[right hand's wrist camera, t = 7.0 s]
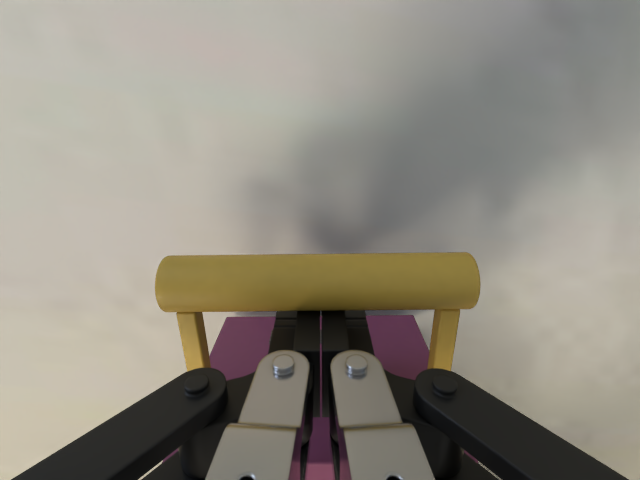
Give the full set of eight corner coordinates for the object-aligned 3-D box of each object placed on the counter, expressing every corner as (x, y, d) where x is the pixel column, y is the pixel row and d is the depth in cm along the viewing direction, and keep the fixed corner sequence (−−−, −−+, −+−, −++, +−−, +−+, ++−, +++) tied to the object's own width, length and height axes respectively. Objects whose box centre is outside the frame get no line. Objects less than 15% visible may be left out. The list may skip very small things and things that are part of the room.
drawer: (212, 208, 15) (116, 299, 8) (424, 206, 15) (517, 295, 8) (252, 517, 22) (222, 702, 15) (393, 516, 22) (426, 701, 15)
